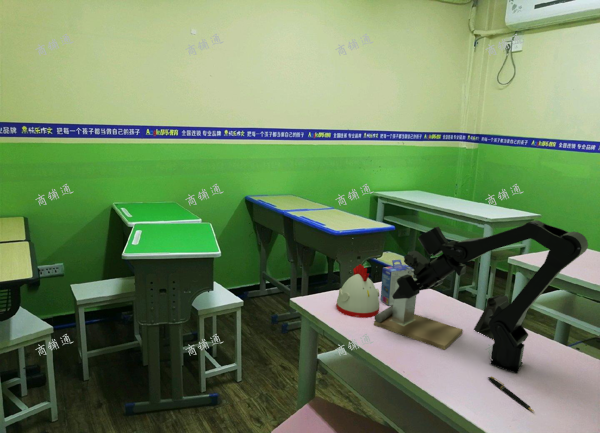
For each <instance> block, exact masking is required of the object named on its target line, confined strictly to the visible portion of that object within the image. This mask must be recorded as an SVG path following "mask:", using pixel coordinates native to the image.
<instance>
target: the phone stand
mask: <svg viewBox="0 0 600 433" xmlns="http://www.w3.org/2000/svg"><path fill="white" fill-rule="evenodd" d="M505 301H508V302H509V301H510V299H509V298H508V296H507V295H504V294H499V295H495V296H491V297H489V298H488V299H487V300H486V306H485V309H484V310H483V312H482V314H481V315H480V317H479V318H478V321H477V322H476V324H475V326H474V328H473V330H475V331H474V332H475V333H478V332H479V333H478V334H480V333H481V334H480V335H482V334H483V335H482V336H484V335H485V337H486V338H488V337H489V338H488V339H491V338H492V339H491V340H493V339H494V338H493V334H492V332H491V331H490V328H489V321H490V320H491V318H489V317H490V316H491V315H493V314H494V313H495V311H496V309H497V307H498V306H499V305H501V304H502V303H504V302H505Z"/></svg>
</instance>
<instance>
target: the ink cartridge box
mask: <svg viewBox="0 0 600 433" xmlns="http://www.w3.org/2000/svg"><path fill="white" fill-rule="evenodd" d="M391 263H392V266H386V267H384V266H383V267H382V274H381V285H380V286H381V287H380V288H381V289H380V301H381V302H382V303H383V304H385V305H387V306H389V307H390V306H392V305H393V303H394V299H393V297H392V296H393V294H394V293H395V284H396V280H397V277H399V276H400V277H402V276H404V275H407V274H408V275H411V276H412V277H413V278H414V276H415V274H414V273H413V271H414V269H413V268H411V267H409V266H408V265H407V264H403V263H402V260H401V259H395V260H394V259H393V260H391ZM395 263H398V264H395Z"/></svg>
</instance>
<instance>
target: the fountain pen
mask: <svg viewBox="0 0 600 433" xmlns="http://www.w3.org/2000/svg"><path fill="white" fill-rule="evenodd" d="M487 378H488V380H489V381H490V382H491V384H493V385H494V386H495V387H497V389H499V390H501V391H502V392H503V393H505V394H506V395H507V396H509V397H510V398H511V399H513V400H514V401H515V402H517V403H518V404H519V405H521V406H523V407H524V408H526V409H527V410H529V411H531V412H535V410H534V409H533V408H531V406H530V405H529V404H528V403H527V402H525V401H524V400H522V399H521V398H520V397H519V396H518V395H517V394H515V393H514V392H513V391H511V390H510V389H509V388H508V387H506V386H505V384H504V382H502V381H500V380H498V379H497V378H495V377H494V376H492V375H491V376H487Z"/></svg>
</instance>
